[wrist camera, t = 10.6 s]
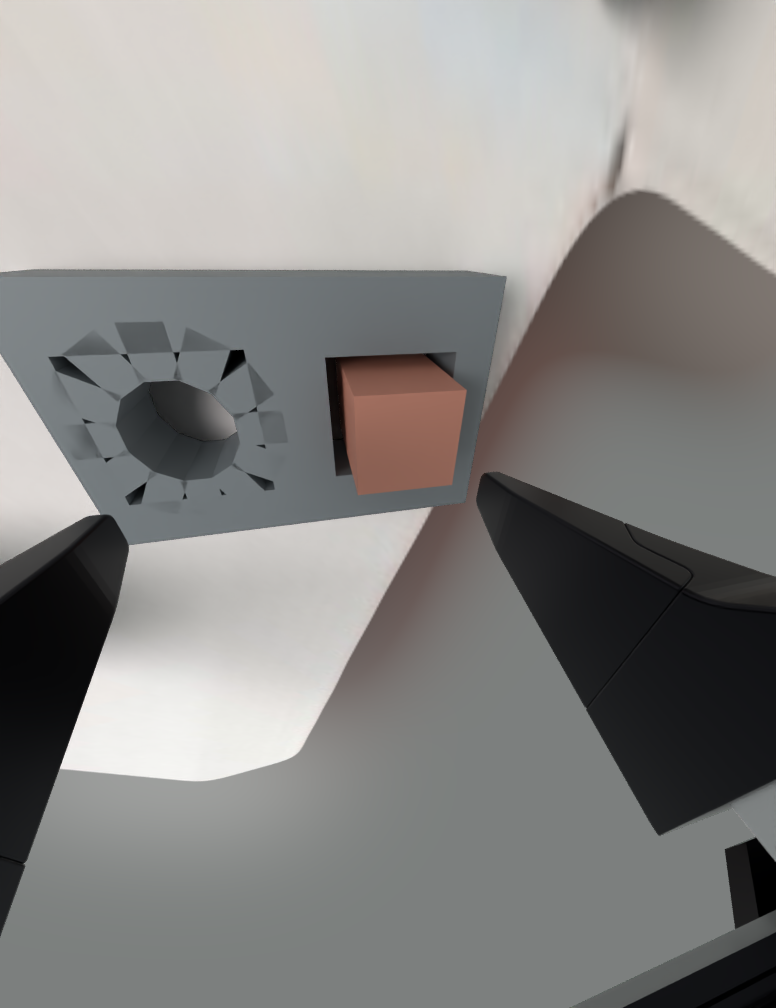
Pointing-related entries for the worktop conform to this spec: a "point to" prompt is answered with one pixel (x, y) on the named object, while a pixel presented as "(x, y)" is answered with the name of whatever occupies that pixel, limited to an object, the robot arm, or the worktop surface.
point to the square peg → (398, 421)
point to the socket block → (233, 383)
